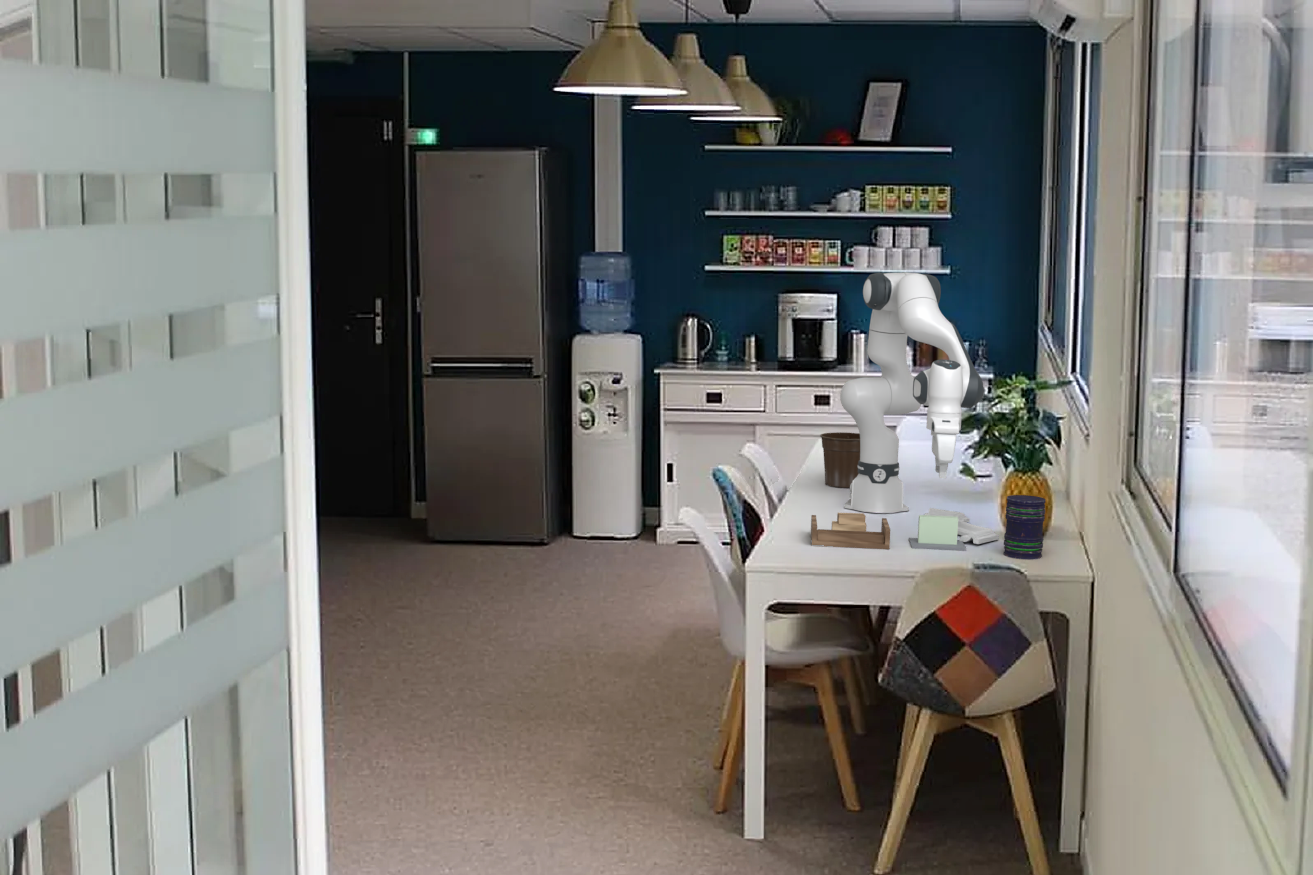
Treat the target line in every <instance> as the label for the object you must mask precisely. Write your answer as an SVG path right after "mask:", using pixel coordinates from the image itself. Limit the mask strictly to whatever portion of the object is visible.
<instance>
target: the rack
mask: <svg viewBox="0 0 1313 875" xmlns="http://www.w3.org/2000/svg"><path fill="white" fill-rule="evenodd" d="M810 516H811V520H810V540H812V543H811V546H812V545H824V546H823V547H827V546H833V547H832V548H850V549H853V548H854V549H855V548H856V549H869V550H870V549H872V550H875V549H877V550H890V546H891V544H890V543H891V528H890V525H889V522H888V518H885V517H882V518H881V530H880V531H867V530H866V531H846V530H832V529H819V528H818V521H817V515H816V514H811V515H810Z"/></svg>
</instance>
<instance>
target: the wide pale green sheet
mask: <svg viewBox="0 0 1313 875" xmlns="http://www.w3.org/2000/svg"><path fill="white" fill-rule="evenodd" d="M917 526H918V528H917V538H918V543H931V544H953V545H957V540H958V534H957V533H958V517H953V516H931V515H925V514H919V515H918V524H917Z"/></svg>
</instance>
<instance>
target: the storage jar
mask: <svg viewBox="0 0 1313 875" xmlns="http://www.w3.org/2000/svg"><path fill="white" fill-rule="evenodd" d="M1045 503H1046V499H1045V498H1044V497H1041V496H1036V495H1035V496H1034V495H1025V494H1023V495H1022V494H1012V495H1008V496H1006V506H1005V519H1006V522H1005V523H1006V524H1005V525H1006V526H1005V532H1004V536H1003V538H1004V539H1003V549H1004V550H1003V556H1005V557H1007V558H1011V559H1015V560H1025V561H1026V560H1032V561H1033V560H1040V559H1042V558H1043V554H1042V552H1043V548H1044V535H1043V531H1044V530H1043V529H1044V522H1045V516H1046V504H1045ZM1041 557H1042V558H1041Z"/></svg>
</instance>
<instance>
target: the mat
mask: <svg viewBox="0 0 1313 875" xmlns="http://www.w3.org/2000/svg"><path fill="white" fill-rule="evenodd" d="M908 542H909V544H910V547H911V549H924V550H925V549H926V550H942V551H943V550H944V551H967V547H966V545H965V542H963V541H960V539H957V545H953V544H931V543H918V537H908Z"/></svg>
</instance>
